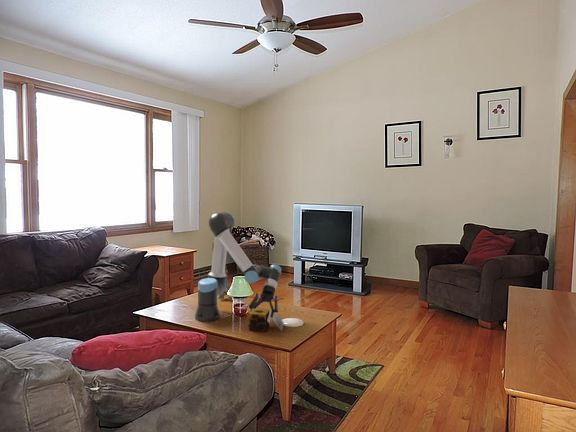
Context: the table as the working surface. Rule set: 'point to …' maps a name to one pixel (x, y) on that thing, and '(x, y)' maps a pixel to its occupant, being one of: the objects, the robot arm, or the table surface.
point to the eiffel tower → (224, 291)
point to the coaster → (292, 322)
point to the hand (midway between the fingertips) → (259, 320)
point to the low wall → (278, 321)
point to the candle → (258, 320)
